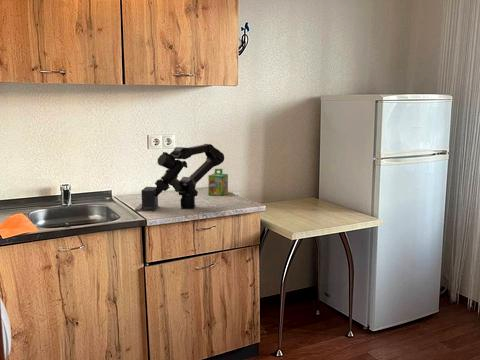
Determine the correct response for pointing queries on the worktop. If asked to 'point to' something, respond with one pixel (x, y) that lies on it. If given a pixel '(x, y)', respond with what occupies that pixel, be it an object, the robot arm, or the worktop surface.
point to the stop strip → (139, 208)
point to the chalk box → (218, 183)
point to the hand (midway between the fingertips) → (155, 196)
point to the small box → (149, 199)
